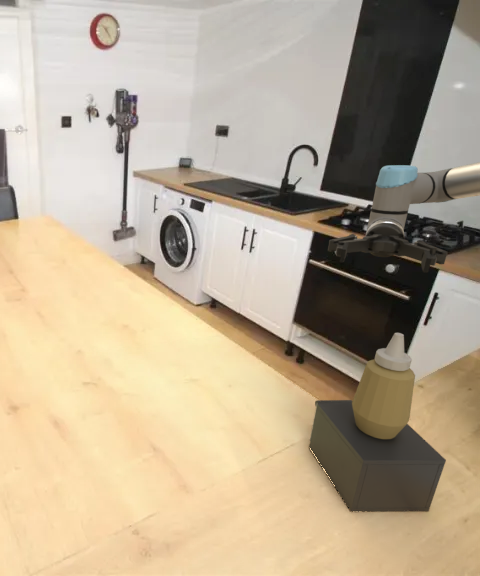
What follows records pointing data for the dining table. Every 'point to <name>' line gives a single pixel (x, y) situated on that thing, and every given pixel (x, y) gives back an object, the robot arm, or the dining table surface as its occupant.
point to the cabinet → (374, 463)
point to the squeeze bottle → (385, 392)
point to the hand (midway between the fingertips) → (383, 260)
